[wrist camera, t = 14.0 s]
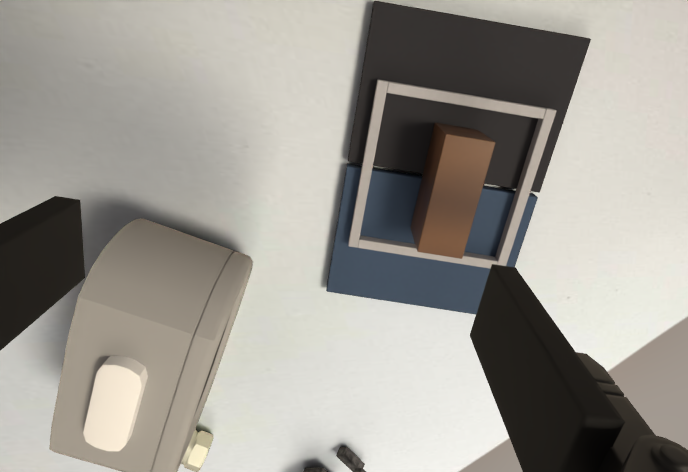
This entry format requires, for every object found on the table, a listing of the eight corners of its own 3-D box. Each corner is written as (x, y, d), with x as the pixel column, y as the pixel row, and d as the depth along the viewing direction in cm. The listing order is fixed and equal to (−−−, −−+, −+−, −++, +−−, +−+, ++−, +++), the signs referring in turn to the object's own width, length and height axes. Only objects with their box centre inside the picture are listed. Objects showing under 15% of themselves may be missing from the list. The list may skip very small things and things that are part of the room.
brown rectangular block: (434, 122, 36) (445, 133, 32) (478, 129, 36) (495, 142, 32) (410, 228, 40) (417, 252, 35) (450, 234, 40) (462, 259, 35)
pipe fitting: (156, 376, 48) (135, 424, 50) (141, 401, 45) (119, 452, 46) (228, 405, 49) (205, 451, 51) (219, 431, 46) (194, 480, 48)
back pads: (373, 1, 34) (374, -1, 32) (585, 38, 35) (597, 38, 33) (326, 286, 43) (325, 297, 41) (494, 312, 44) (500, 324, 42)
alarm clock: (206, 403, 49) (155, 525, 37) (116, 375, 48) (32, 491, 35) (264, 235, 41) (225, 317, 29) (160, 198, 40) (73, 265, 28)
